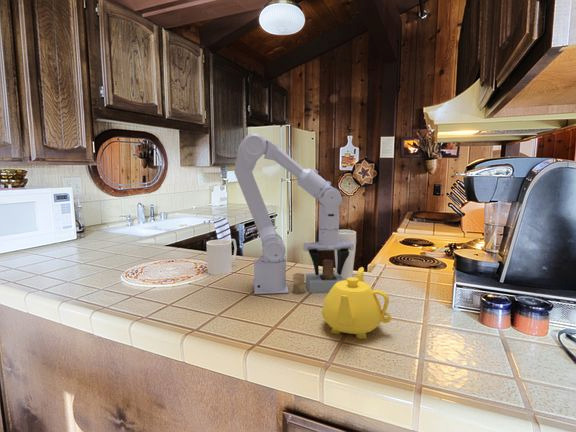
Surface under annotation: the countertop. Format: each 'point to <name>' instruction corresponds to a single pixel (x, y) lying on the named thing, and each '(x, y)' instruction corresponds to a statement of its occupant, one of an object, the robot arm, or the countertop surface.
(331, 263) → the walnut dowel
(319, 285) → the socket block
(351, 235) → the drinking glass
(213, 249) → the cup
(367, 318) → the teapot
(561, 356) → the countertop surface
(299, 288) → the oak stub
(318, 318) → the countertop surface
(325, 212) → the robot arm
